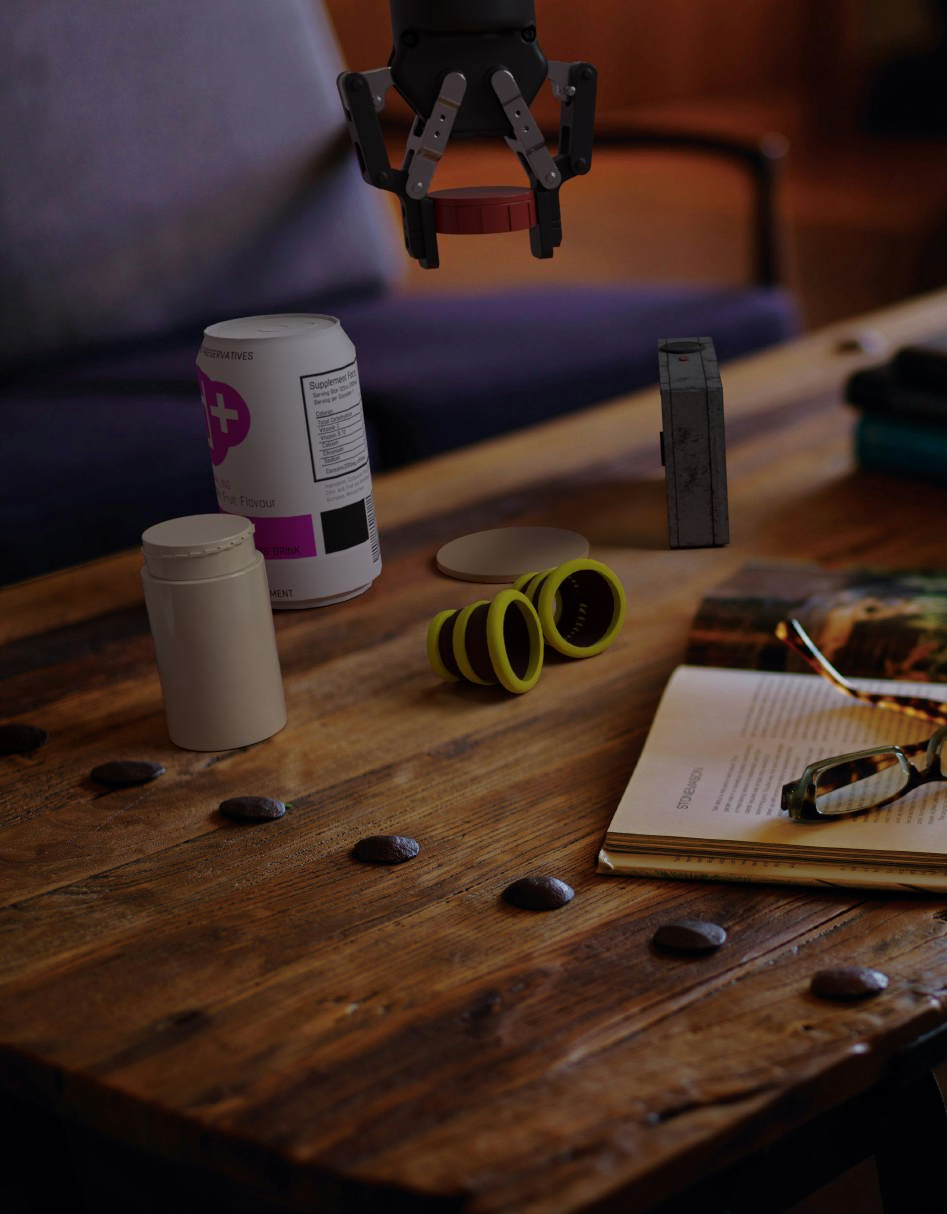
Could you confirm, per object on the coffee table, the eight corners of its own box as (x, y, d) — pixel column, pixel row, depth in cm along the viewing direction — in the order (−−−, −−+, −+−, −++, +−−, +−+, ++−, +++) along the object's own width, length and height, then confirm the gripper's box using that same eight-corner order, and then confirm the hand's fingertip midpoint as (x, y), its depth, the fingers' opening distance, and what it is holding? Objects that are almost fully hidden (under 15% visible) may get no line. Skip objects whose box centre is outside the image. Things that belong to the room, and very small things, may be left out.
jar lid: (524, 233, 87) (520, 197, 86) (416, 235, 87) (412, 199, 87) (546, 219, 92) (543, 184, 92) (445, 221, 93) (441, 187, 92)
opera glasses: (561, 640, 86) (540, 550, 85) (638, 639, 83) (616, 546, 82) (431, 706, 79) (406, 608, 77) (511, 708, 76) (485, 606, 75)
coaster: (428, 587, 92) (427, 578, 92) (445, 537, 101) (445, 530, 101) (587, 578, 93) (587, 570, 93) (592, 530, 101) (591, 522, 101)
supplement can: (252, 624, 87) (209, 347, 82) (221, 580, 94) (179, 322, 89) (400, 595, 91) (368, 328, 86) (360, 555, 98) (328, 306, 93)
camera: (662, 475, 113) (654, 331, 109) (719, 472, 113) (712, 329, 110) (666, 550, 97) (656, 386, 94) (732, 546, 98) (725, 383, 94)
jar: (167, 759, 72) (131, 554, 69) (170, 713, 77) (136, 519, 73) (290, 740, 74) (260, 539, 70) (285, 697, 78) (257, 506, 75)
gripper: (327, -66, 79) (370, 284, 85) (610, -69, 84) (632, 259, 90) (302, -60, 85) (343, 265, 91) (567, -64, 91) (589, 243, 97)
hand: (487, 261), depth 91 cm, fingers closed on jar lid, 6 cm apart
